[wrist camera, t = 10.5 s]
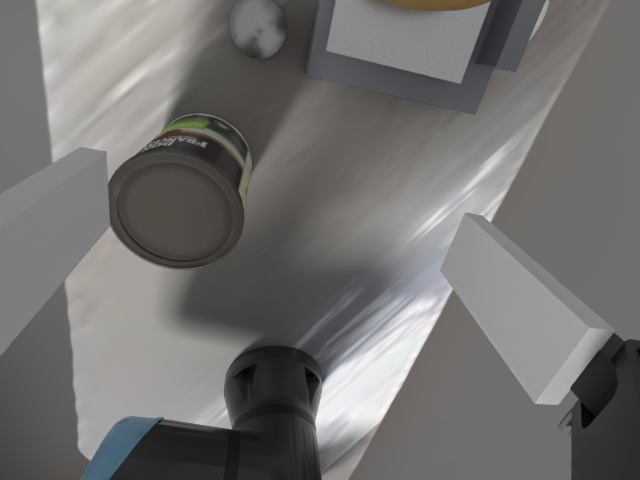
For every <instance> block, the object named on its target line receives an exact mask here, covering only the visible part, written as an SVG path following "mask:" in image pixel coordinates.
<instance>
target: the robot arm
mask: <svg viewBox="0 0 640 480" xmlns="http://www.w3.org/2000/svg"><path fill="white" fill-rule="evenodd" d="M109 227H110V216H109V195H108V174H107V153H106V151H100V150H94V149H89V148H83V147H80V148H78V149H77V150H75V151H73V152H71V153H70V154H68V155H66V156H65V157H63V158H61V159H60V160H58V161H56V162H54V163H53V164H51V165H50V166H48V167H46V168H44V169H43V170H41V171H39V172H38V173H36V174H34V175H33V176H31V177H29V178H27V179H26V180H24V181H22V182H21V183H19V184H17V185H16V186H14V187H12V188H10V189H9V190H7V191H5V192H4V193H2V194H0V356H1V354H2V353H3V352H4V351H5V350H6V349H7V347H8V346H9V345H10V344H11V343H12V341H13V340H14V339H15V338H16V337H17V335H18V334H19V333H20V332H21V331H22V330H23V328H24V327H25V326H26V325H27V324H28V323H29V321H30V320H31V319H32V318H33V317H34V315H35V314H36V313H37V312H38V310H40V308H41V307H42V306H43V305H44V303H45V302H46V301H47V300H48V299H49V298H50V296H51V295H52V294H53V293H54V292H55V291H56V289H57V288H58V287H59V286H60V285H61V283H62V282H63V281H64V280H65V279H66V278H67V276H68V275H69V274H70V273H71V272H72V270H73V269H74V268H75V267H76V266H77V265H78V263H79V262H80V261H81V260H82V259H83V257H84V256H85V255H86V254H87V253H88V252H89V250H90V249H91V248H92V247H93V246H94V244H95V243H96V242H97V241H98V240H99V239H100V237H101V236H102V235H103V234H104V233H105V231H106V230H107V229H108V228H109ZM440 271H441V272H442V274H443V275H444V277H445V278H446V279H447V281H448V282H449V284H450V285H451V286H452V288H453V289H454V291H455V292H456V293H457V295H458V296H459V298H460V299H461V300H462V302H463V303H464V305H465V306H466V307H467V309H468V310H469V312H470V313H471V315H472V316H473V317H474V319H475V320H476V321H477V323H478V324H479V326H480V327H481V328H482V330H483V331H484V333H485V334H486V336H487V337H488V338H489V340H490V341H491V343H492V344H493V345H494V347H495V348H496V350H497V351H498V353H499V354H500V355H501V357H502V358H503V360H504V361H505V362H506V364H507V365H508V366H509V368H510V369H511V371H512V372H513V374H514V375H515V376H516V378H517V379H518V381H519V382H520V383H521V385H522V386H523V388H524V389H525V390H526V392H527V393H528V394H529V396H530V398H531V399H532V400H533V402H534V403H536V404H552V405H558V404H559V403H560V402H561V400H562V399H563V398H564V397H565V395H566V394H567V393H568V391H569V390H570V389H571V390H572V391H573V392H574V394H575V395H576V396H577V397H578V399H579V400H578V401H577V402H576V403H575V405H574V406H573V407H572V409H571V410H570V411H569V412H568V413H567V415H566V416H565V417H564V418H563V420H562V421H561V422H560V423H559V426H558V429H559V430H561V431H562V430H563V428H564V427H565V426H572V429H571V431H570V432H569V433H568V435H569V436H571V437H572V446H571V448H572V452H571V453H572V456H571V457H572V459H571V461H572V462H571V466H572V468H571V469H572V476H571V477H572V478H571V479H572V480H640V341H638V340H633V339H630V340H626V341H625V342H624V341H623V340H622V339H621V338H620V337H618V336H617V335H616V334H615V333H614V332H615V330H614V329H613V328H611V327H610V326H609V325H608V324H607V323H606V322H605V321H604V320H602V319H601V318H600V317H599V316H598V315H597V314H595V313H594V312H593V311H592V310H590V309H589V308H588V307H587V306H586V305H585V304H584V303H583V302H582V301H580V300H579V299H578V298H577V297H576V296H575V295H573V294H572V293H571V292H570V291H569V290H567V289H566V288H565V287H564V286H563V285H562V284H560V282H558V281H557V280H556V279H555V278H554V277H552V276H551V275H550V274H549V273H548V272H547V271H545V270H544V269H543V268H542V267H541V266H540V265H539V264H538V263H536V262H535V261H534V260H533V259H532V258H531V257H529V256H528V255H527V254H526V253H525V252H524V251H522V250H521V249H520V248H519V247H518V246H517V245H516V244H514V243H513V242H512V241H511V240H510V239H509V238H507V237H506V236H505V235H504V234H503V233H502V232H500V231H499V230H498V229H497V228H496V227H495V226H493V225H492V224H491V223H490V222H489V221H488V220H487V219H485V218H484V217H483V216H482V215H476V214H470V213H465V214H464V216H463V218H462V221H461V223H460V225H459V228H458V230H457V232H456V234H455V237H454V239H453V241H452V243H451V246H450V248H449V250H448V253H447V255H446V257H445V259H444V262H443V264H442V266H441V268H440ZM321 394H322V379H321V373H320V369H319V367H318V365H317V363H316V362H315V361H314V360H313V359H312V358H311V357H310V356H308V355H307V354H305V353H303V352H301V351H299V350H296V349H293V348H288V347H279V346H273V347H264V348H260V349H256V350H253V351H251V352H248V353H246V354H244V355H243V356H241V357H240V358H238V359H237V360H236V361H235V362H234V363H233V364H232V365H231V366H230V368H229V370H228V371H227V374H226V378H225V385H224V398H225V402H226V406H227V410H228V414H229V418H230V422H231V426H232V430H231V429H225V428H218V427H211V426H204V425H198V424H192V423H186V422H180V421H173V420H167V419H164V418H163V417H158V418H146V417H136V416H130V417H126V418H123V419H122V420H120V421H119V422H117V423H116V424H115V425H114V426H113V427H112V428H111V430H110V431H109V432H108V434H107V435H106V437H105V438H104V440H103V441H102V443H101V444H100V446H99V448H98V450H97V451H96V453H95V455H94V457H93V458H92V460H91V462H90V464H89V466H88V468H87V470H86V472H85V474H84V475H83V477H82V479H81V480H322V478H321V470H320V461H319V453H318V444H317V436H316V427H315V420H316V415H317V411H318V407H319V402H320V398H321Z"/></svg>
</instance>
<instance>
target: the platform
mask: <svg viewBox="0 0 640 480" xmlns="http://www.w3.org/2000/svg"><path fill="white" fill-rule="evenodd" d="M490 2H491V1H490ZM490 2H488V3H486V4H483V5H480V6H477V7H473V8H469V9H464V10H457V11H419V10H414V9H411V8H407V7H404V6H401V5H398V4H395V3H393V2H391V1H389V0H334V5H333V10H332V15H331V20H330V25H329V30H328V35H327V40H326V45H325V51H329V52H333V53H337V54H341V55H345V56H349V57H354V58H358V59H362V60H366V61H370V62H374V63H378V64H382V65H386V66H390V67H394V68H398V69H402V70H406V71H410V72H415V73H419V74H423V75H427V76H431V77H435V78H439V79H443V80H447V81H451V82H455V83H459V84H461V81H462V79H463V76H464V73H465V70H466V68H467V65H468V62H469V60H470V57H471V54H472V51H473V49H474V46H475V43H476V41H477V38H478V35H479V32H480V30H481V27H482V24H483V22H484V19H485V16H486V13H487V11H488V8H489V5H490Z"/></svg>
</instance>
